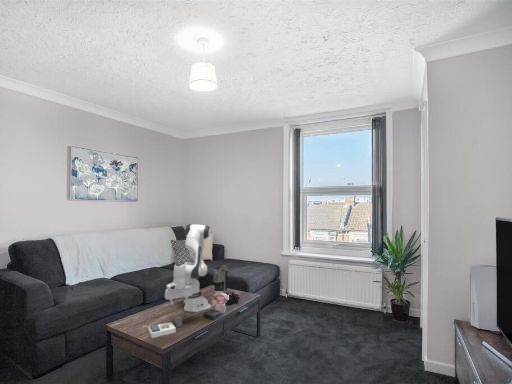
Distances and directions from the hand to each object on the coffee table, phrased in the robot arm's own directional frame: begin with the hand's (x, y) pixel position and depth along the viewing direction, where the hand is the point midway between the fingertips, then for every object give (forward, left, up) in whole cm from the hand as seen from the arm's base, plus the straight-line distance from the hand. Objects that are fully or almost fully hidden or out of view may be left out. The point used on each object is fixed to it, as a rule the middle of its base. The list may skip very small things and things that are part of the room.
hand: (178, 303), depth 214 cm
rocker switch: (0, 0, -16) cm, 16 cm away
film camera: (-53, -23, -17) cm, 60 cm away
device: (-55, -47, -17) cm, 75 cm away
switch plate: (+13, +4, -16) cm, 21 cm away
